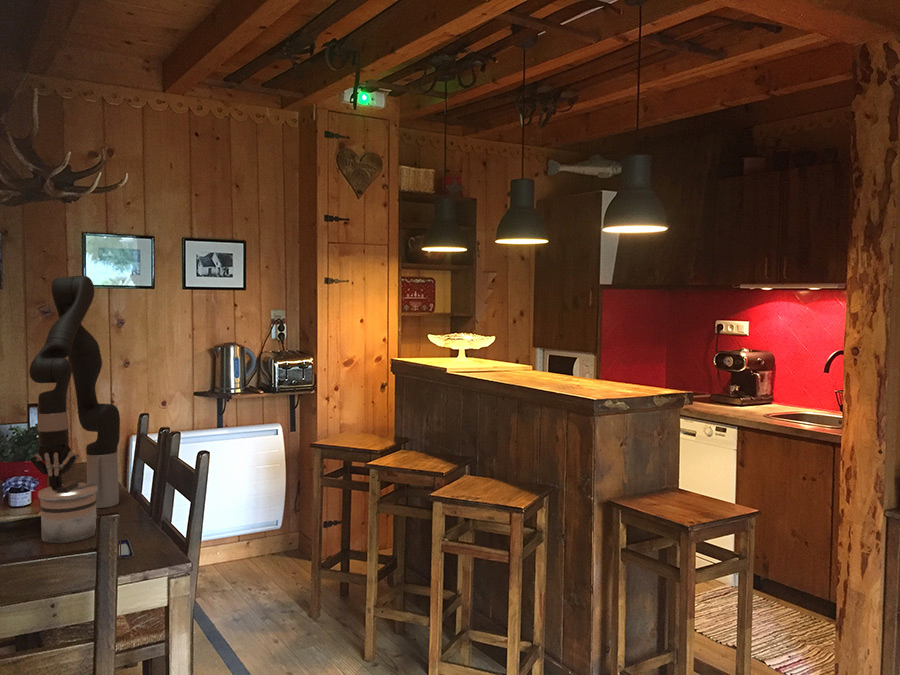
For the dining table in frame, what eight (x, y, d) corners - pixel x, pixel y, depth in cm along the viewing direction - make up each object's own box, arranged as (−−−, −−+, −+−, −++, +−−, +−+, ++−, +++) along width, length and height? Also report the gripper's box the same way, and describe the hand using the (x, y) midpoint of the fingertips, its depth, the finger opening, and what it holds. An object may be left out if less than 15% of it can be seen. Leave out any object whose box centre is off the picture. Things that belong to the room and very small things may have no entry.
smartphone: (103, 561, 188) (99, 543, 202) (103, 564, 188) (99, 546, 202) (134, 556, 192) (128, 538, 205) (134, 559, 192) (128, 542, 205)
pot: (55, 528, 217) (53, 487, 217) (105, 526, 218) (104, 486, 218) (31, 544, 203) (29, 500, 202) (85, 542, 204) (84, 499, 204)
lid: (53, 487, 217) (52, 478, 217) (105, 486, 218) (105, 477, 218) (28, 501, 202) (27, 491, 202) (84, 499, 203) (84, 490, 203)
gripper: (83, 425, 215) (85, 484, 215) (35, 426, 214) (38, 485, 214) (71, 429, 207) (74, 490, 208) (22, 431, 206) (25, 492, 207)
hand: (55, 488), depth 211 cm, fingers closed
